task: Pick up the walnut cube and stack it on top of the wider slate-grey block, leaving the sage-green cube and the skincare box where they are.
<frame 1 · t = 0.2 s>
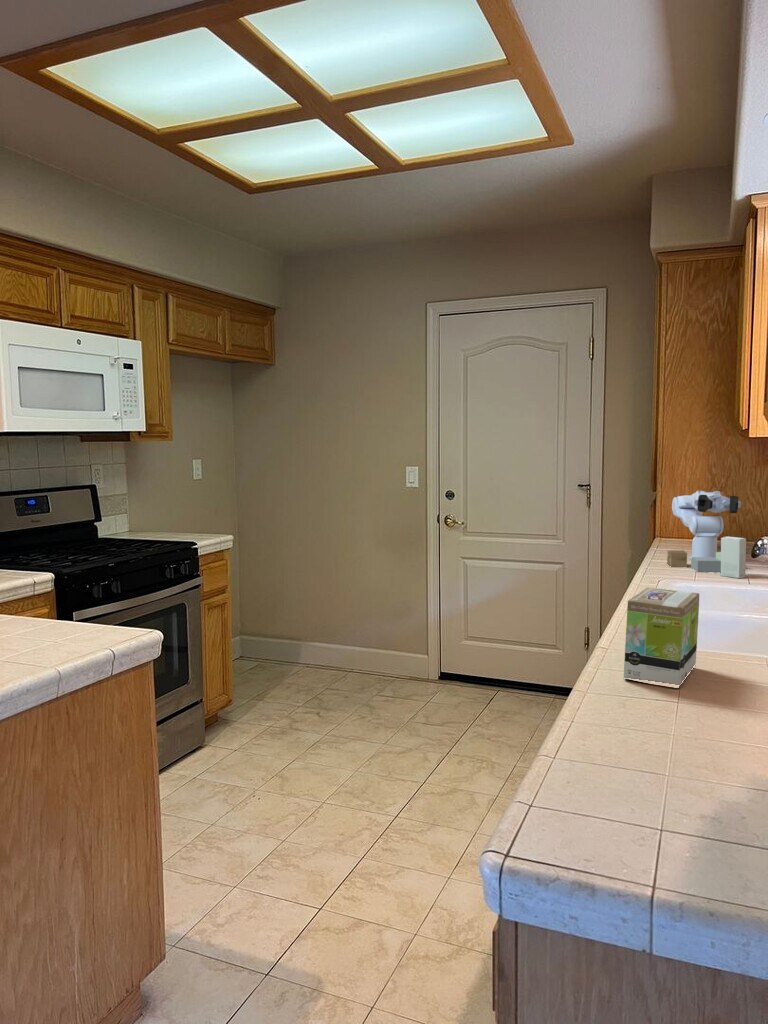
hand: (724, 505, 238), 21 cm above the countertop, tool horizontal, fingers open, 7 cm apart
walnut cube: (676, 566, 251), on the countertop
slate block: (705, 571, 243), on the countertop
skincare box: (732, 577, 232), on the countertop
sage cube: (726, 568, 246), on the countertop
tea box: (660, 675, 139), on the countertop
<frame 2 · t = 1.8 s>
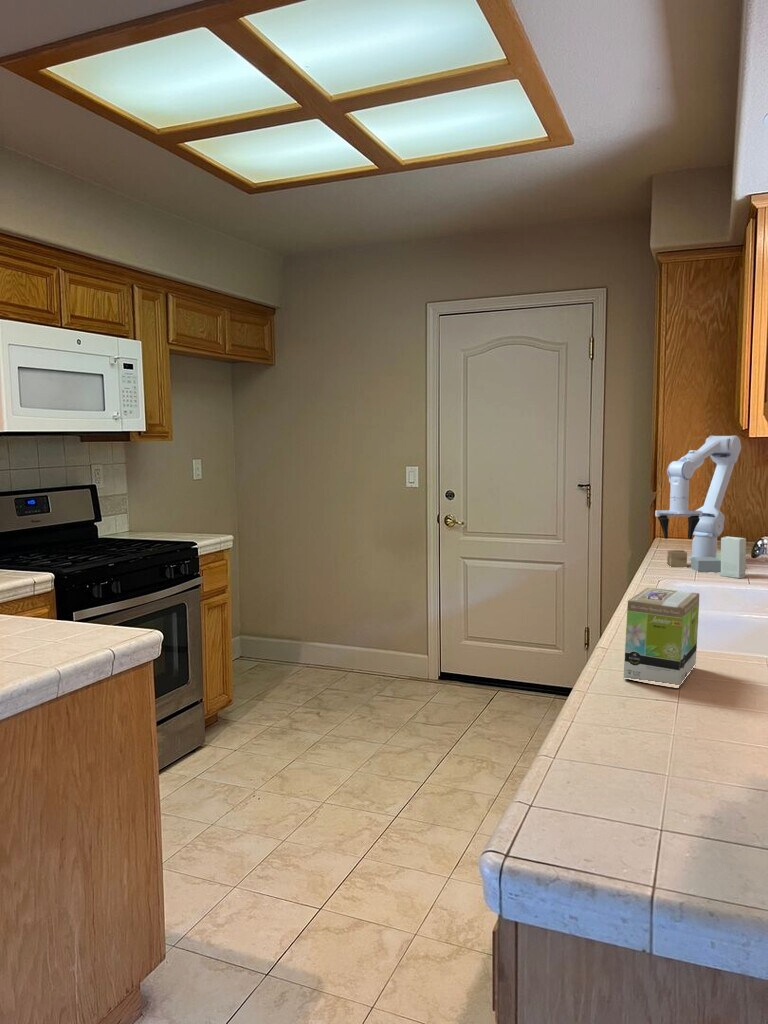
hand: (677, 538, 250), 9 cm above the countertop, tool pointing down, fingers open, 7 cm apart
nothing on the countertop moved.
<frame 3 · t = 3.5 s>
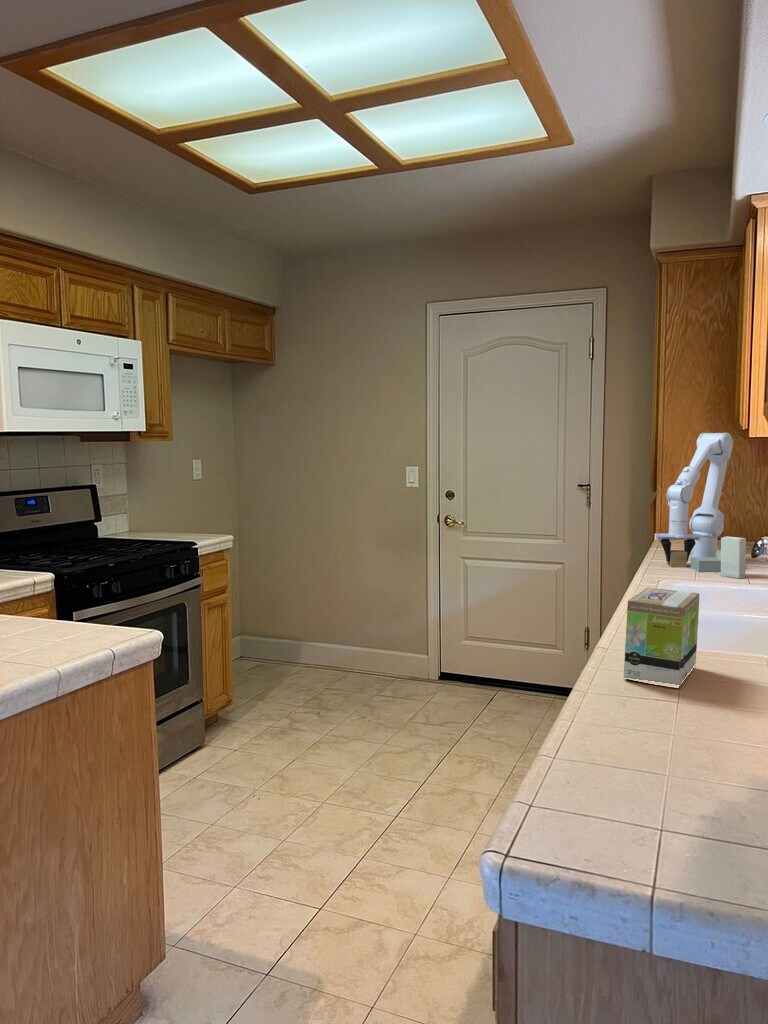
hand: (676, 561, 251), 1 cm above the countertop, tool pointing down, fingers closed on walnut cube, 5 cm apart
walnut cube: (676, 566, 251), on the countertop, touching gripper
everything else where it was.
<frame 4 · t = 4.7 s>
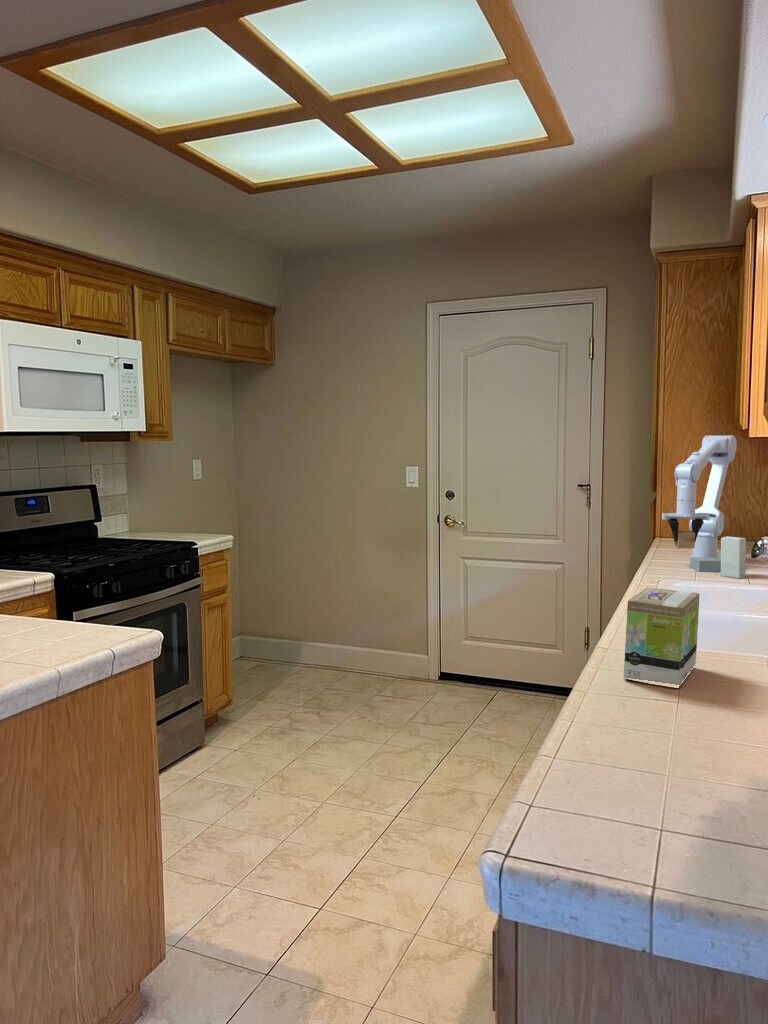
hand: (684, 541, 248), 8 cm above the countertop, tool pointing down, fingers closed on walnut cube, 5 cm apart
walnut cube: (684, 546, 248), point 7 cm above the countertop, touching gripper
everything else where it was.
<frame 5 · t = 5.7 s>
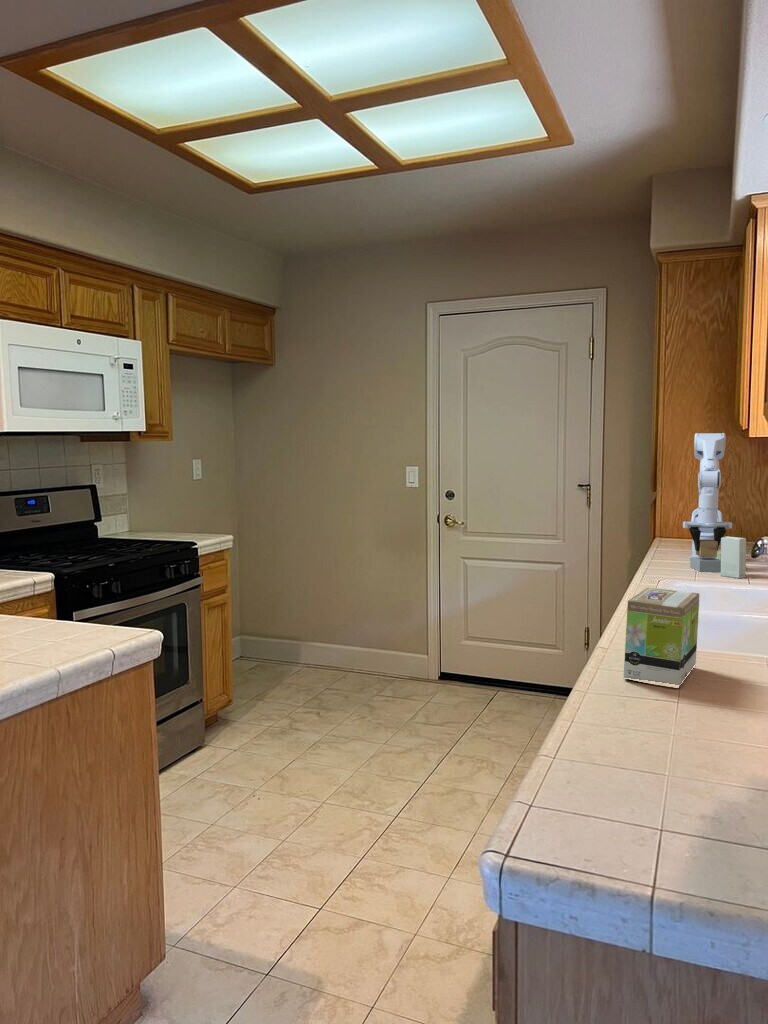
hand: (706, 550, 242), 6 cm above the countertop, tool pointing down, fingers closed on walnut cube, 5 cm apart
walnut cube: (706, 555, 242), point 5 cm above the countertop, touching gripper
everything else where it was.
when the fingers open (6 cm above the countertop, at t = 6.4 s): walnut cube drops 1 cm, resting on slate block.
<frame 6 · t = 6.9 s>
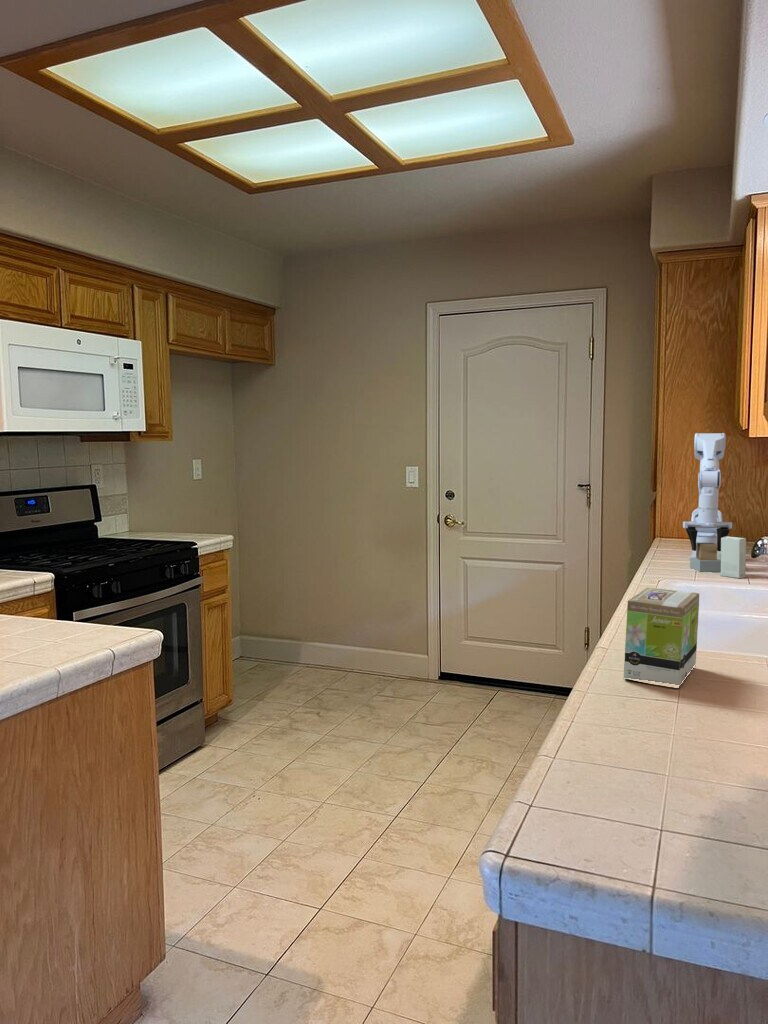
hand: (706, 550, 242), 6 cm above the countertop, tool pointing down, fingers open, 7 cm apart
walnut cube: (706, 559, 242), point 4 cm above the countertop, touching slate block
slate block: (705, 571, 243), on the countertop, touching walnut cube
everything else where it was.
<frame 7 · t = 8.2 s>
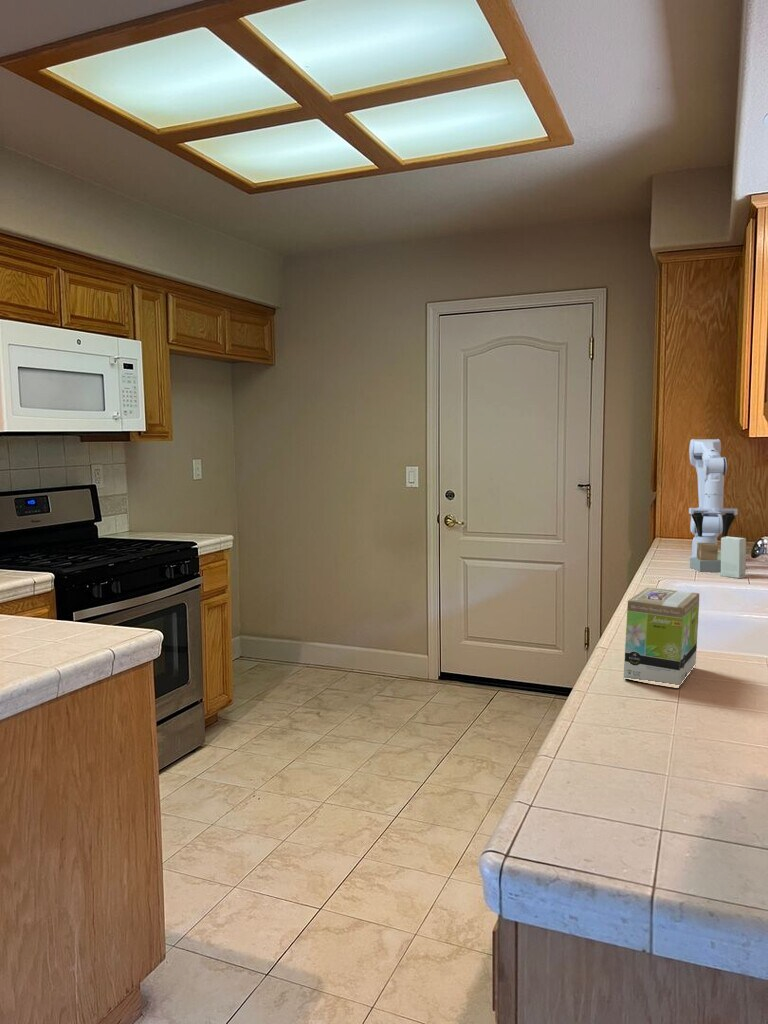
hand: (712, 536, 245), 10 cm above the countertop, tool pointing down, fingers open, 7 cm apart
walnut cube: (706, 559, 242), point 4 cm above the countertop
slate block: (705, 571, 243), on the countertop
everything else where it was.
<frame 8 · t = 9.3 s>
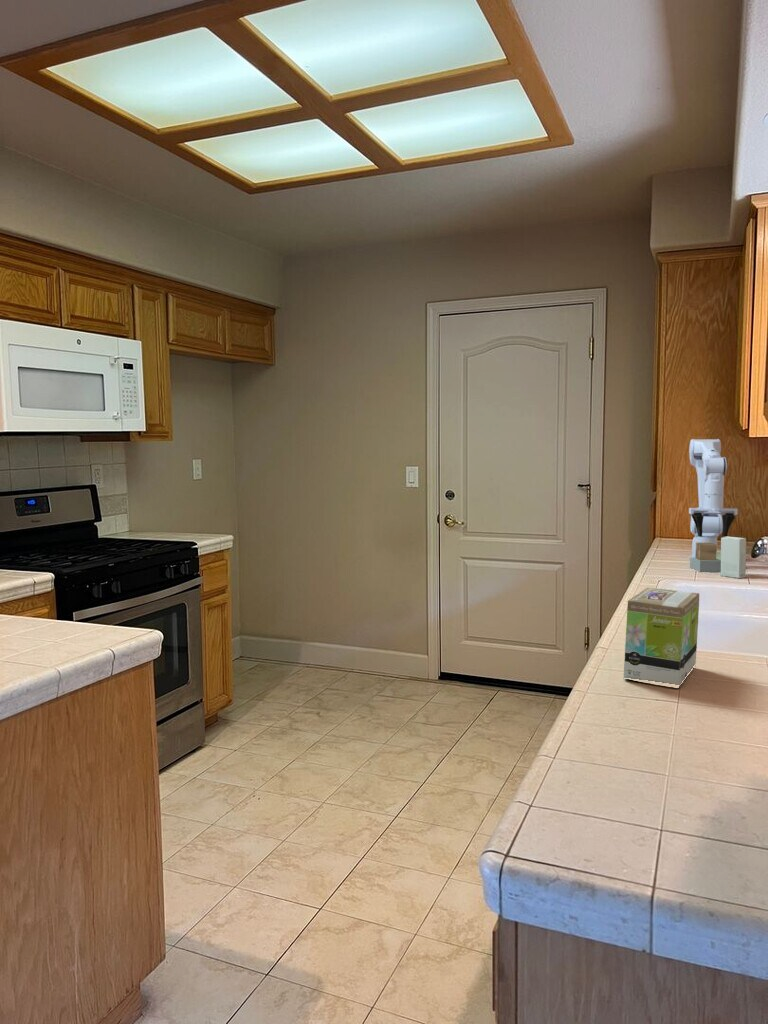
hand: (712, 536, 245), 10 cm above the countertop, tool pointing down, fingers open, 7 cm apart
walnut cube: (705, 559, 242), point 4 cm above the countertop, touching slate block
slate block: (705, 571, 243), on the countertop, touching walnut cube
everything else where it was.
at the end: walnut cube 0.2 cm off-centre on the slate block, point 4.0 cm above the slate block's base; walnut cube tilted 0°; the gripper is holding nothing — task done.
